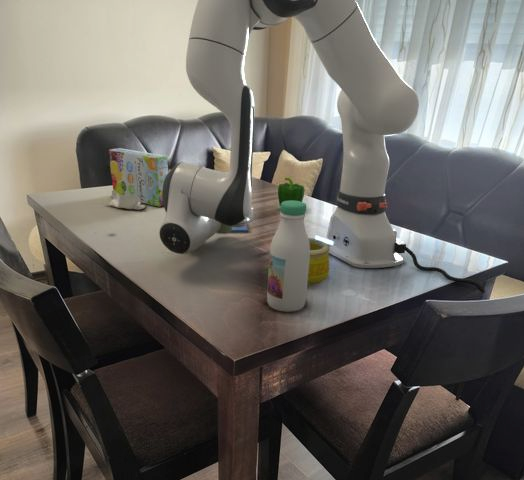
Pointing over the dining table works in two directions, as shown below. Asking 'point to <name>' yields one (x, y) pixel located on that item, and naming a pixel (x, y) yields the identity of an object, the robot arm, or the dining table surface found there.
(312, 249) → the mug
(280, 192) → the bell pepper
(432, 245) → the dining table surface
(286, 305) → the milk bottle
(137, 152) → the snack box
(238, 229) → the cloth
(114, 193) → the fabric
